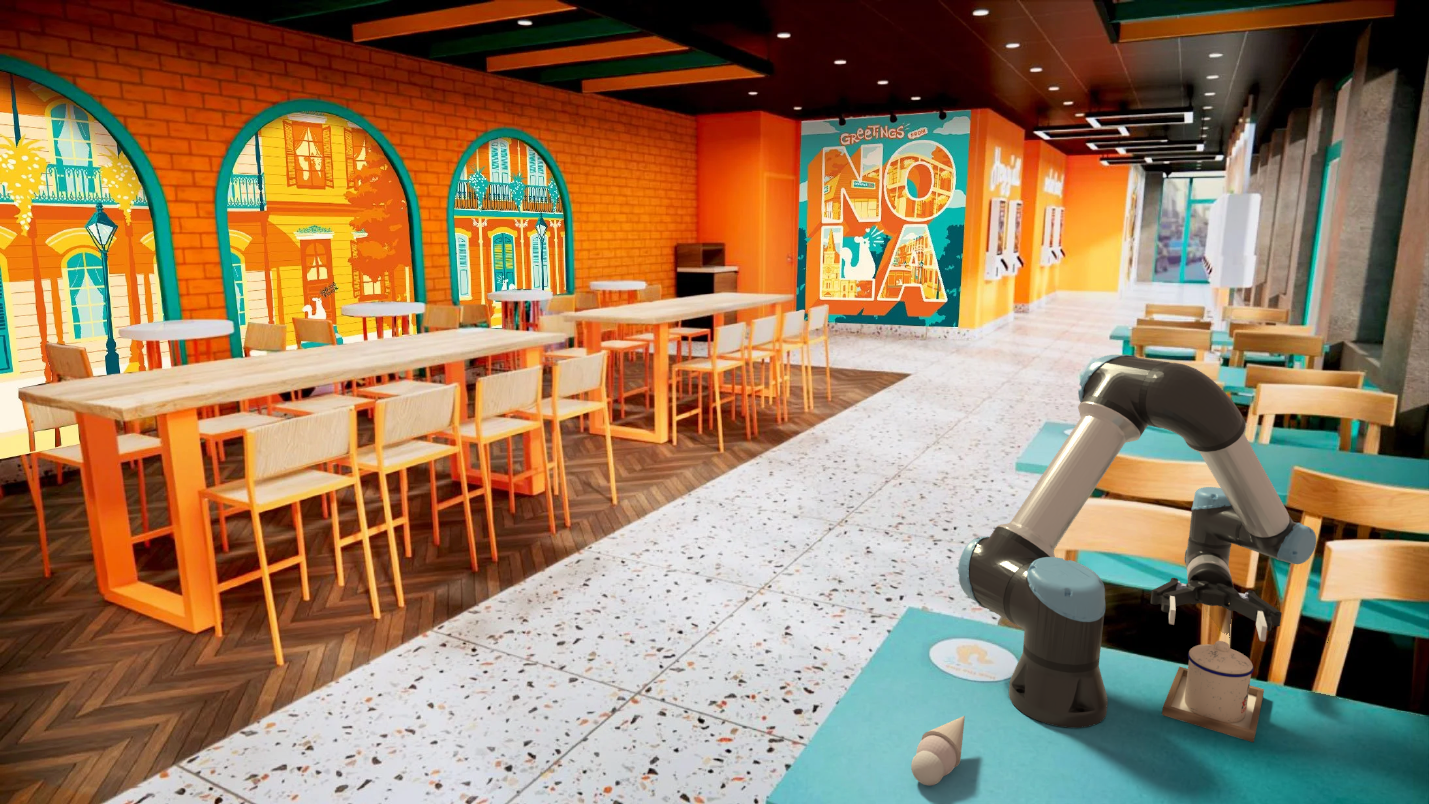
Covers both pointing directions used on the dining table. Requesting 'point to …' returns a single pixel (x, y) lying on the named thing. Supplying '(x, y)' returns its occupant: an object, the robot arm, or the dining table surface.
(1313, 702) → the dining table surface
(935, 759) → the ice cream cone
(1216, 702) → the teacup with lid
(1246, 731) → the walnut tray
